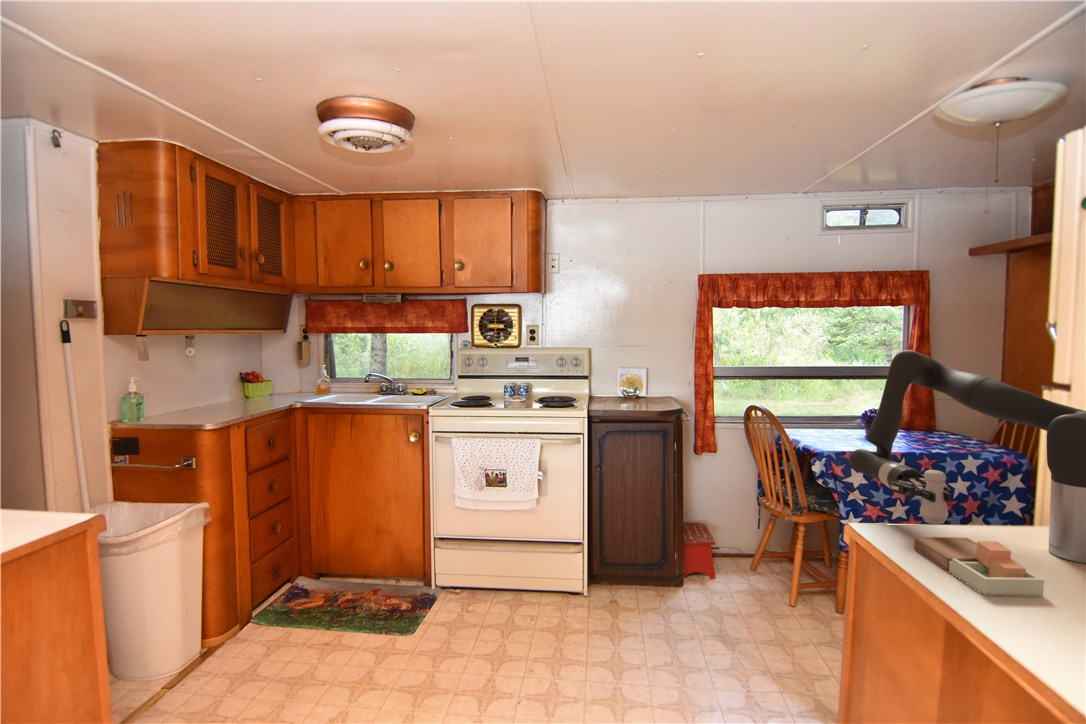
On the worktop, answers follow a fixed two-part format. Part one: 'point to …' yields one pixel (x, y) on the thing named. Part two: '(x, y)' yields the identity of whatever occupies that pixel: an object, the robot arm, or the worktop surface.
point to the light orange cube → (991, 551)
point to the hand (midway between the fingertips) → (941, 498)
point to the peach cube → (1006, 568)
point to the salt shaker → (937, 509)
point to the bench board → (946, 549)
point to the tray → (996, 581)
